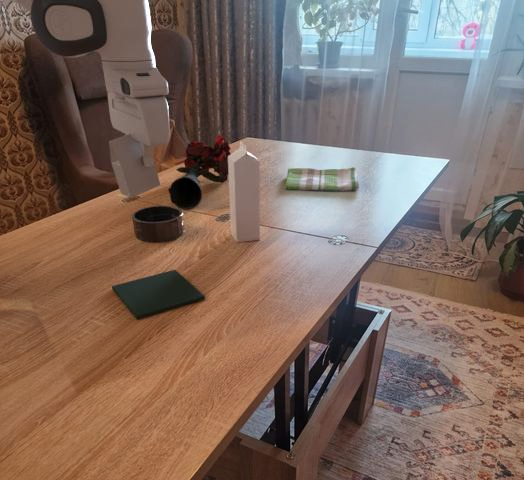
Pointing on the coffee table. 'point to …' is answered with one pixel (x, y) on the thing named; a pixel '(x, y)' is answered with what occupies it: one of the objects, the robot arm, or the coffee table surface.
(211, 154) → the black vase with roses
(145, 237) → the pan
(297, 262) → the coffee table surface
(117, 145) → the white box
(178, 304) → the mat
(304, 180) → the dish towel
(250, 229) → the milk
